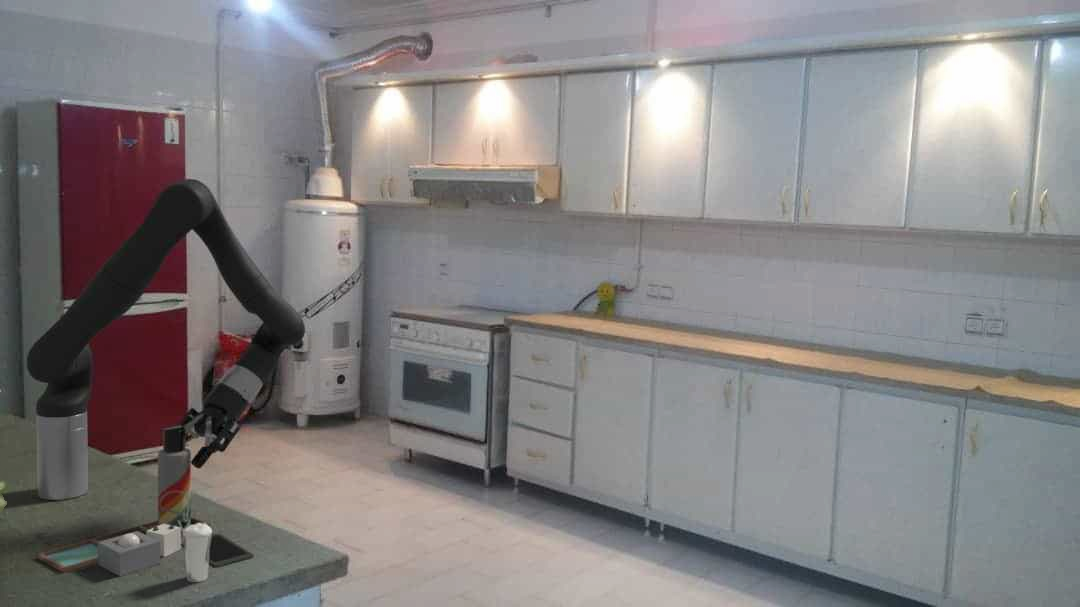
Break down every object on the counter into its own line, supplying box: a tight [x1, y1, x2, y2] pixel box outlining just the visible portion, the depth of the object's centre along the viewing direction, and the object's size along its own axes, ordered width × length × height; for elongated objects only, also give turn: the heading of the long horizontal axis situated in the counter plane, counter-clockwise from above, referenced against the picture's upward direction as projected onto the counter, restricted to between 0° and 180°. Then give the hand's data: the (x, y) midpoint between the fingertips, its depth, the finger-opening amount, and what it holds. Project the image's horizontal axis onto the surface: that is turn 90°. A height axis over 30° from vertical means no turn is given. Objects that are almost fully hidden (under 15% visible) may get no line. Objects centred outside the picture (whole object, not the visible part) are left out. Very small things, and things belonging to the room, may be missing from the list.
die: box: [145, 524, 182, 558], centre depth 157 cm, size 4×4×5 cm
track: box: [37, 515, 212, 574], centre depth 160 cm, size 9×28×1 cm, turn 144°
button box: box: [97, 531, 161, 577], centre depth 150 cm, size 7×7×4 cm
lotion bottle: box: [157, 424, 192, 532], centre depth 166 cm, size 6×6×20 cm
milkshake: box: [178, 520, 213, 583], centre depth 146 cm, size 4×5×10 cm
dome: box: [118, 533, 140, 548], centre depth 150 cm, size 3×3×5 cm
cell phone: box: [181, 533, 255, 568], centre depth 158 cm, size 7×14×1 cm, turn 46°
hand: (181, 461), depth 167 cm, fingers open, 8 cm apart
